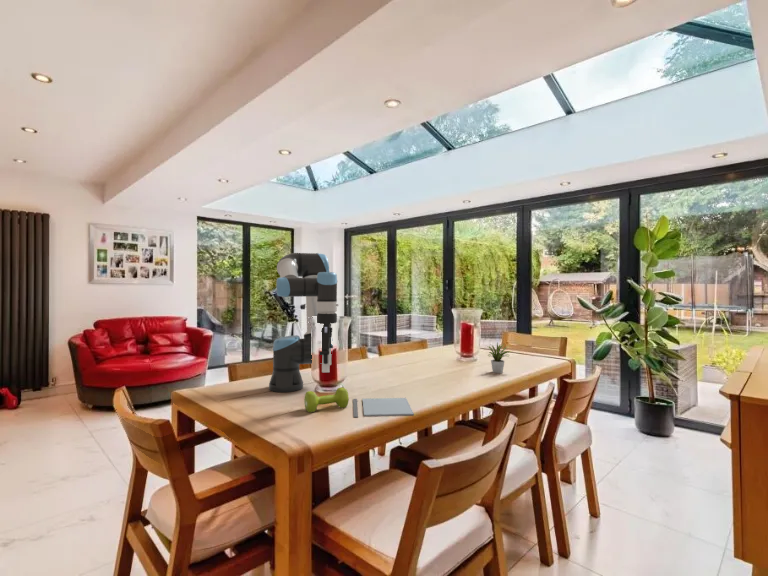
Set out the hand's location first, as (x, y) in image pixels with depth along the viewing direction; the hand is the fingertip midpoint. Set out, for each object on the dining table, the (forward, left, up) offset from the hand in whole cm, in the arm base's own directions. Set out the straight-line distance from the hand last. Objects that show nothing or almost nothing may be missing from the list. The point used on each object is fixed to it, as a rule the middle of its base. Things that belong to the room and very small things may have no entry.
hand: (326, 368), depth 150 cm
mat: (+23, 0, -15) cm, 28 cm away
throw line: (+11, 0, -15) cm, 19 cm away
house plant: (+88, +56, -16) cm, 105 cm away
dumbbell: (0, 0, -16) cm, 16 cm away
